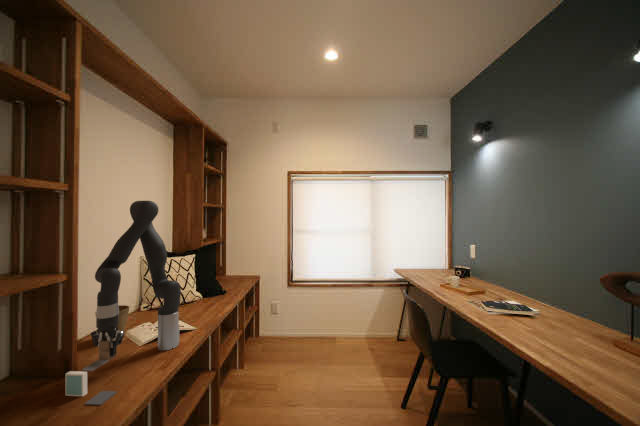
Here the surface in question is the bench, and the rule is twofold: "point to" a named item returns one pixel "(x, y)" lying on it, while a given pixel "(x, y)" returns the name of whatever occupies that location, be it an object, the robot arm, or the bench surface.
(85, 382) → the slab tile
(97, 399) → the mat
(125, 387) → the bench surface
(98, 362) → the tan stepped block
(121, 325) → the plant pot
